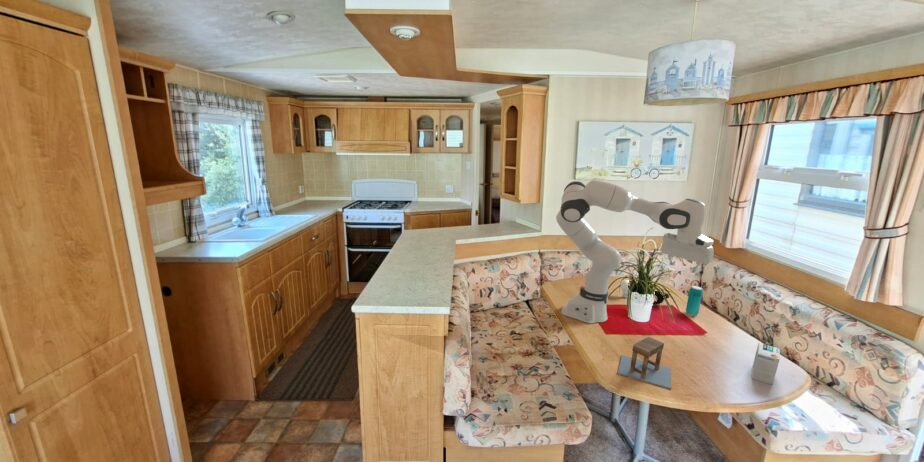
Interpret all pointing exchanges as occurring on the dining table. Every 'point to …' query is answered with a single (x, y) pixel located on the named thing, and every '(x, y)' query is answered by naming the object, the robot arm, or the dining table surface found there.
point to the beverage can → (694, 300)
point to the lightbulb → (624, 287)
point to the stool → (646, 354)
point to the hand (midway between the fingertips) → (683, 268)
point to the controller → (660, 297)
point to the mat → (652, 375)
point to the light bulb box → (765, 363)
